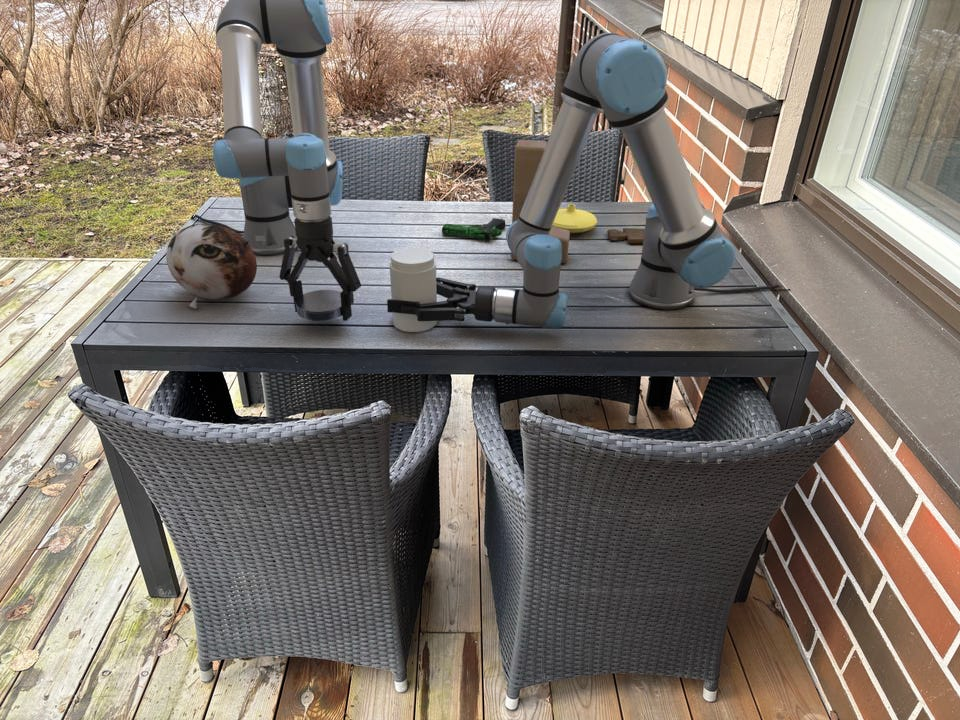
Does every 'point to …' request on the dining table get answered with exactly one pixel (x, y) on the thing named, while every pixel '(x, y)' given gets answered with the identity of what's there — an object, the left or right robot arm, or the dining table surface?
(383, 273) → the dining table surface
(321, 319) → the lid
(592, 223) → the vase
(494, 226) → the handgun
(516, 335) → the dining table surface
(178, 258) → the cat face ball
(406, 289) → the jar
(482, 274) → the dining table surface
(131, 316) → the dining table surface
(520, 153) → the decorative block
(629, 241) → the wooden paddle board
